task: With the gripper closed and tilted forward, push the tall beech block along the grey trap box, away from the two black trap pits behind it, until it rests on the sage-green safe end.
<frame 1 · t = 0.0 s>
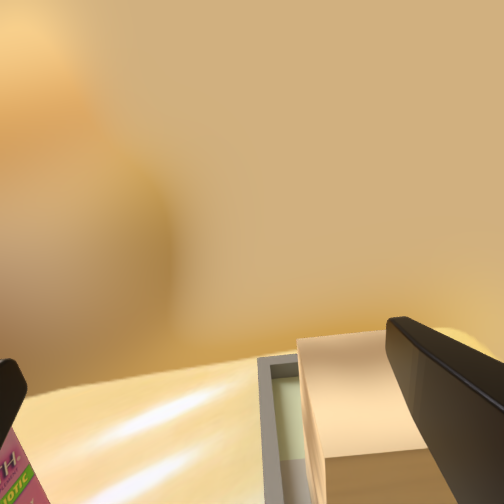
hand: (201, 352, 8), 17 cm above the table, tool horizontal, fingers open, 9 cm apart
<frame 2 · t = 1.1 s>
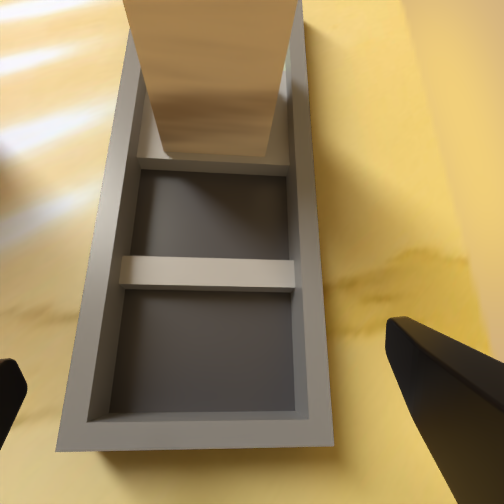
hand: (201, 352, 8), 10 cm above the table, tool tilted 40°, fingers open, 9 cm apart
trap box: (215, 168, 21), on the table
block: (216, 113, 20), point 1 cm above the table, touching trap box
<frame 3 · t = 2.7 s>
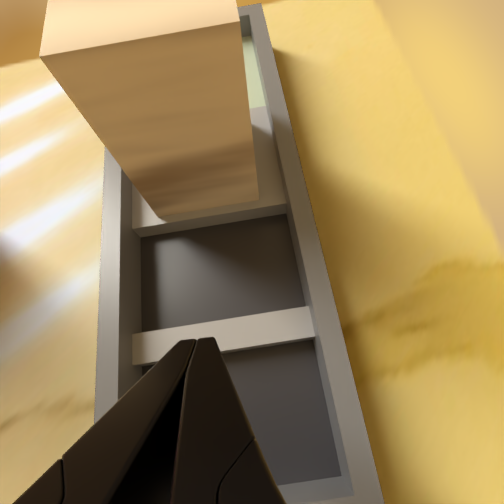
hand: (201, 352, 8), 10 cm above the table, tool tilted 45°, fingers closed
trap box: (213, 220, 20), on the table
block: (203, 166, 20), point 1 cm above the table, touching trap box
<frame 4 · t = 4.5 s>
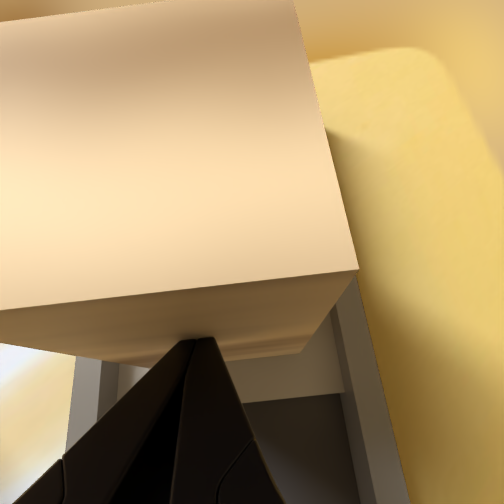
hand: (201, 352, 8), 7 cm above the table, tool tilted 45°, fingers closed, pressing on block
trap box: (233, 390, 14), on the table
block: (222, 290, 14), point 1 cm above the table, touching gripper, trap box
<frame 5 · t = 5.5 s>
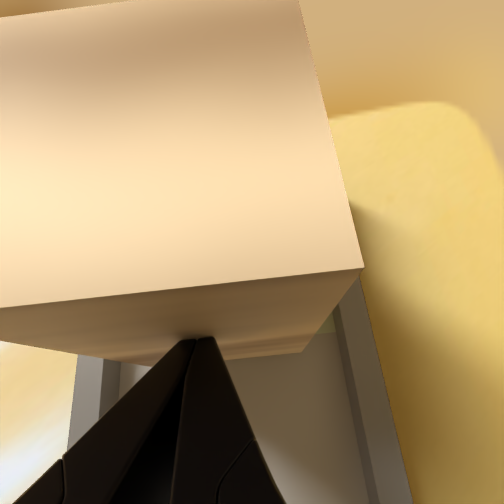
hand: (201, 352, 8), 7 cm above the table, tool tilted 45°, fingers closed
block: (223, 289, 14), point 1 cm above the table, touching trap box
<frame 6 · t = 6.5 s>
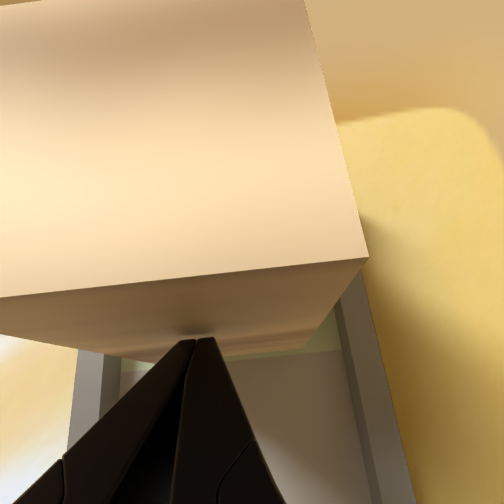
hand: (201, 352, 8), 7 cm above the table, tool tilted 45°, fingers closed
block: (224, 285, 14), point 1 cm above the table, touching trap box
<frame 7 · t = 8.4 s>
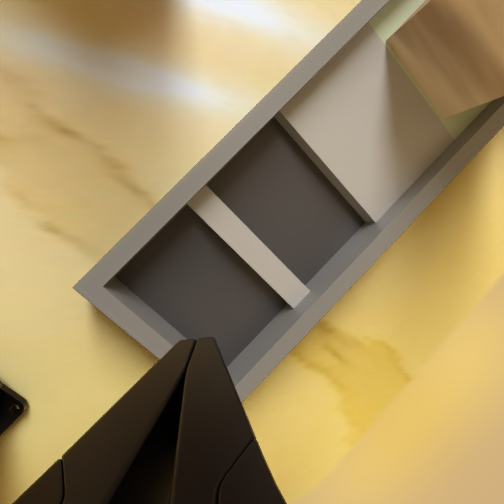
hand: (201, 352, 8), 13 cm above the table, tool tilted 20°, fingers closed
trap box: (325, 167, 21), on the table
block: (447, 47, 20), point 1 cm above the table, touching trap box
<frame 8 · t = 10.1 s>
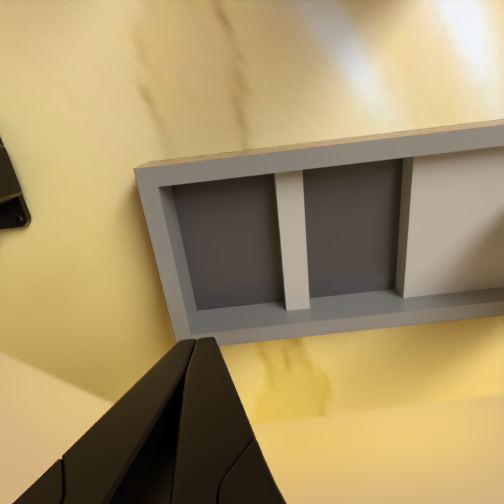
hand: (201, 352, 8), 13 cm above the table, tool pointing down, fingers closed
trap box: (405, 223, 20), on the table
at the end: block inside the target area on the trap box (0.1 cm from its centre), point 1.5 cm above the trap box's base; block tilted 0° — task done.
